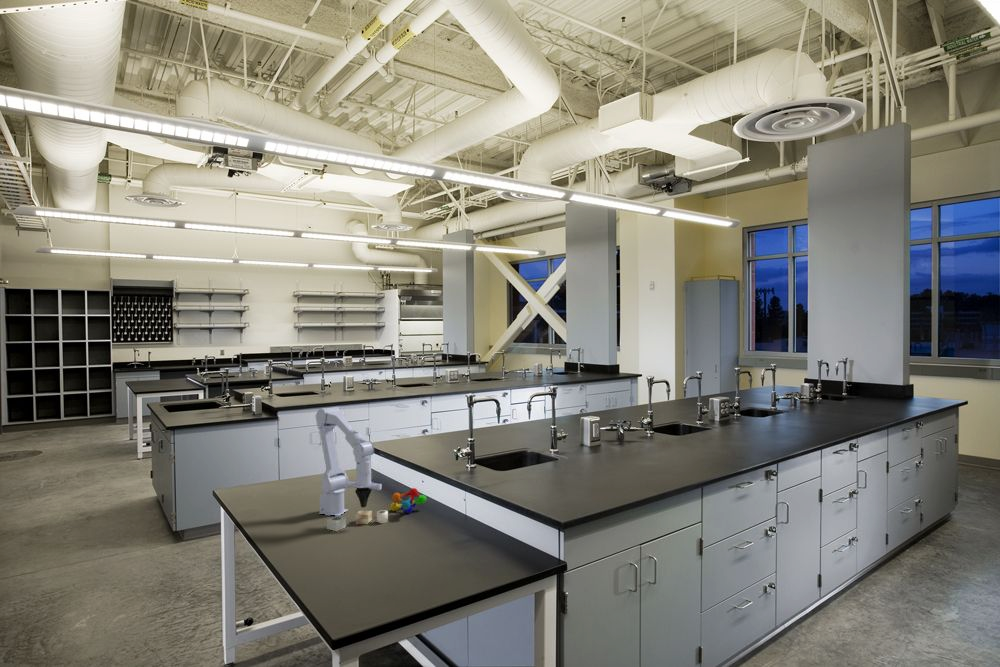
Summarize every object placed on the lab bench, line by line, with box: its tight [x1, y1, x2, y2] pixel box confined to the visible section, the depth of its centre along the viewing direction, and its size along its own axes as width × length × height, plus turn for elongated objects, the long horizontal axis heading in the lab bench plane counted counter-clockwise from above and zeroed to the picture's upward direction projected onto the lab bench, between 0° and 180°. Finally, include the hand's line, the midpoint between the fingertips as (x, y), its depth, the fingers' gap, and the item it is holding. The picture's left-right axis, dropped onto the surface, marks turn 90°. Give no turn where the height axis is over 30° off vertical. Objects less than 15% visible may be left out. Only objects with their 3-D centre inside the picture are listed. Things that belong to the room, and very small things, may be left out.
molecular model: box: [389, 487, 427, 514], centre depth 233 cm, size 15×10×15 cm
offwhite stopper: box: [376, 509, 389, 524], centre depth 220 cm, size 4×4×4 cm
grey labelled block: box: [326, 516, 347, 532], centre depth 213 cm, size 5×5×4 cm
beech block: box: [355, 510, 373, 525], centre depth 220 cm, size 5×5×4 cm
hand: (363, 506), depth 220 cm, fingers closed
